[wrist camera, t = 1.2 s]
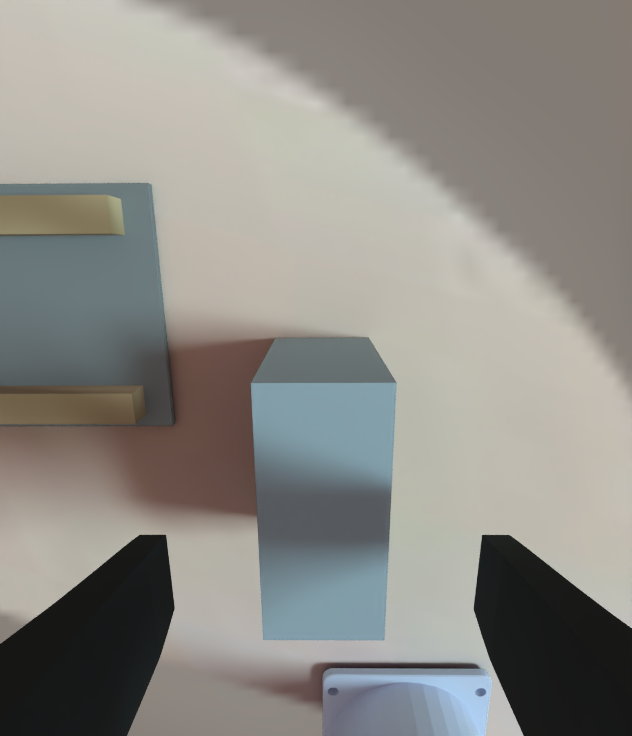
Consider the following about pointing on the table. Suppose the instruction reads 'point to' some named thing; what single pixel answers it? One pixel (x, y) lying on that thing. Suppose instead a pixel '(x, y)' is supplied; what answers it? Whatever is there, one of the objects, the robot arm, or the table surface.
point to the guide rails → (66, 401)
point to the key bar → (323, 487)
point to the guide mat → (87, 305)
